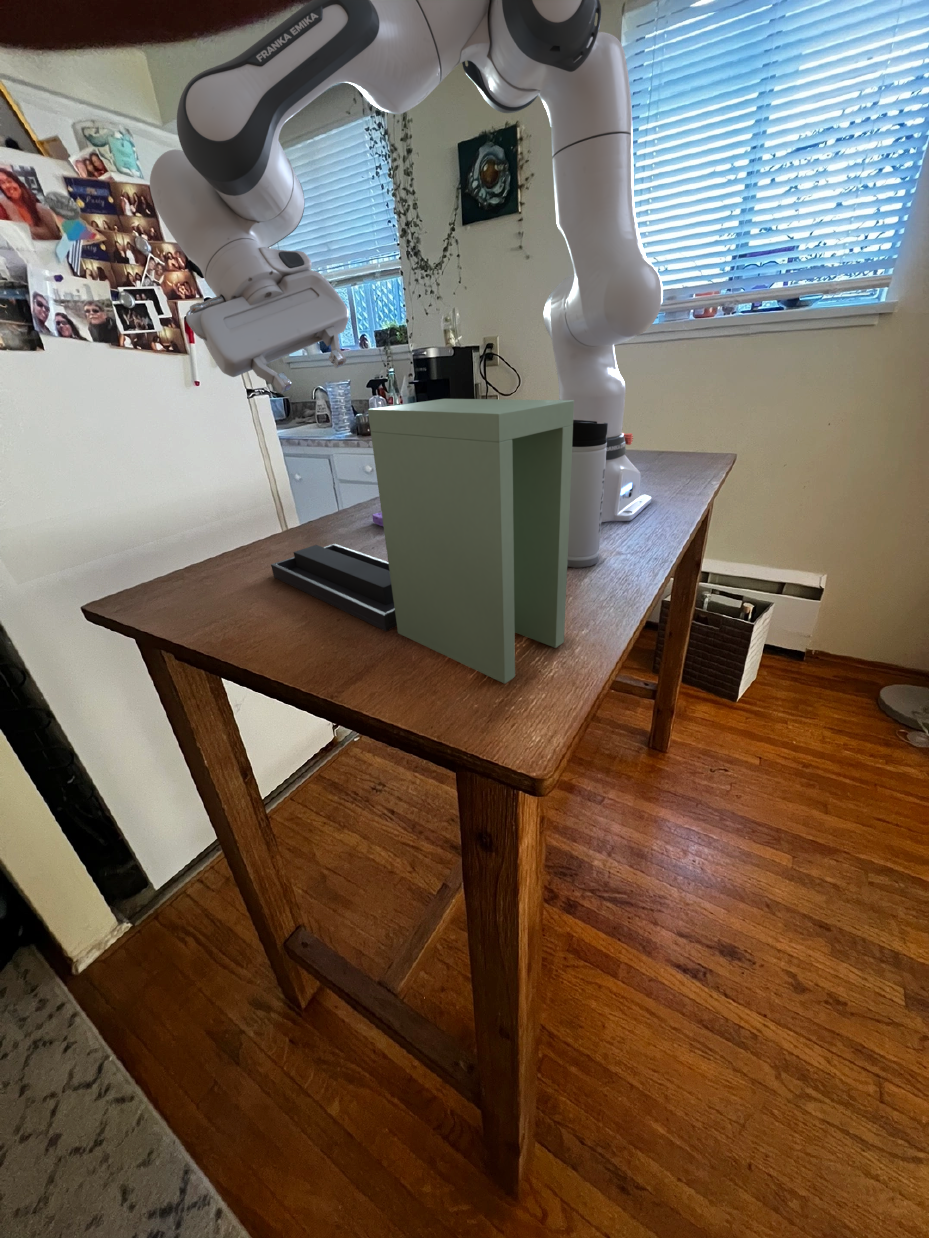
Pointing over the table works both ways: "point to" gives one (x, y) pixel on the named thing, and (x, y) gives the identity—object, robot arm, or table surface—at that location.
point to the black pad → (346, 572)
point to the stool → (476, 523)
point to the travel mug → (586, 492)
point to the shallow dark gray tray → (339, 589)
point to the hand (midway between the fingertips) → (314, 376)
